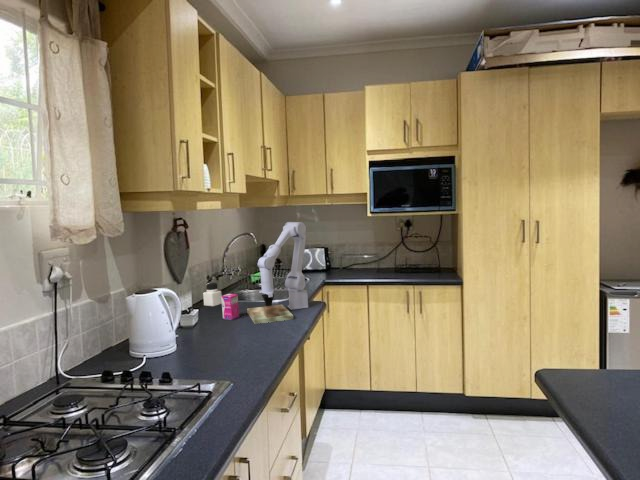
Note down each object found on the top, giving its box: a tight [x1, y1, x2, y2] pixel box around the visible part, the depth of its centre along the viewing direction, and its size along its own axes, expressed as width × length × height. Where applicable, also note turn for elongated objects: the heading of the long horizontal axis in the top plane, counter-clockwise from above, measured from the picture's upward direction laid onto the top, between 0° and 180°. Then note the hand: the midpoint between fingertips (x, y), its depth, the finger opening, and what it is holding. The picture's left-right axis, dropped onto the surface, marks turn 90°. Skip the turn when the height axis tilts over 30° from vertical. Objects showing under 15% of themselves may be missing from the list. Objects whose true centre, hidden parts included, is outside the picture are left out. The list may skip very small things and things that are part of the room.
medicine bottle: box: [202, 282, 223, 307], centre depth 254 cm, size 7×7×12 cm
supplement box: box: [221, 293, 240, 321], centre depth 221 cm, size 6×6×12 cm
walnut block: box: [263, 304, 280, 318], centre depth 215 cm, size 6×6×4 cm
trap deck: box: [246, 304, 294, 325], centre depth 223 cm, size 18×24×2 cm
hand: (268, 309), depth 224 cm, fingers closed
